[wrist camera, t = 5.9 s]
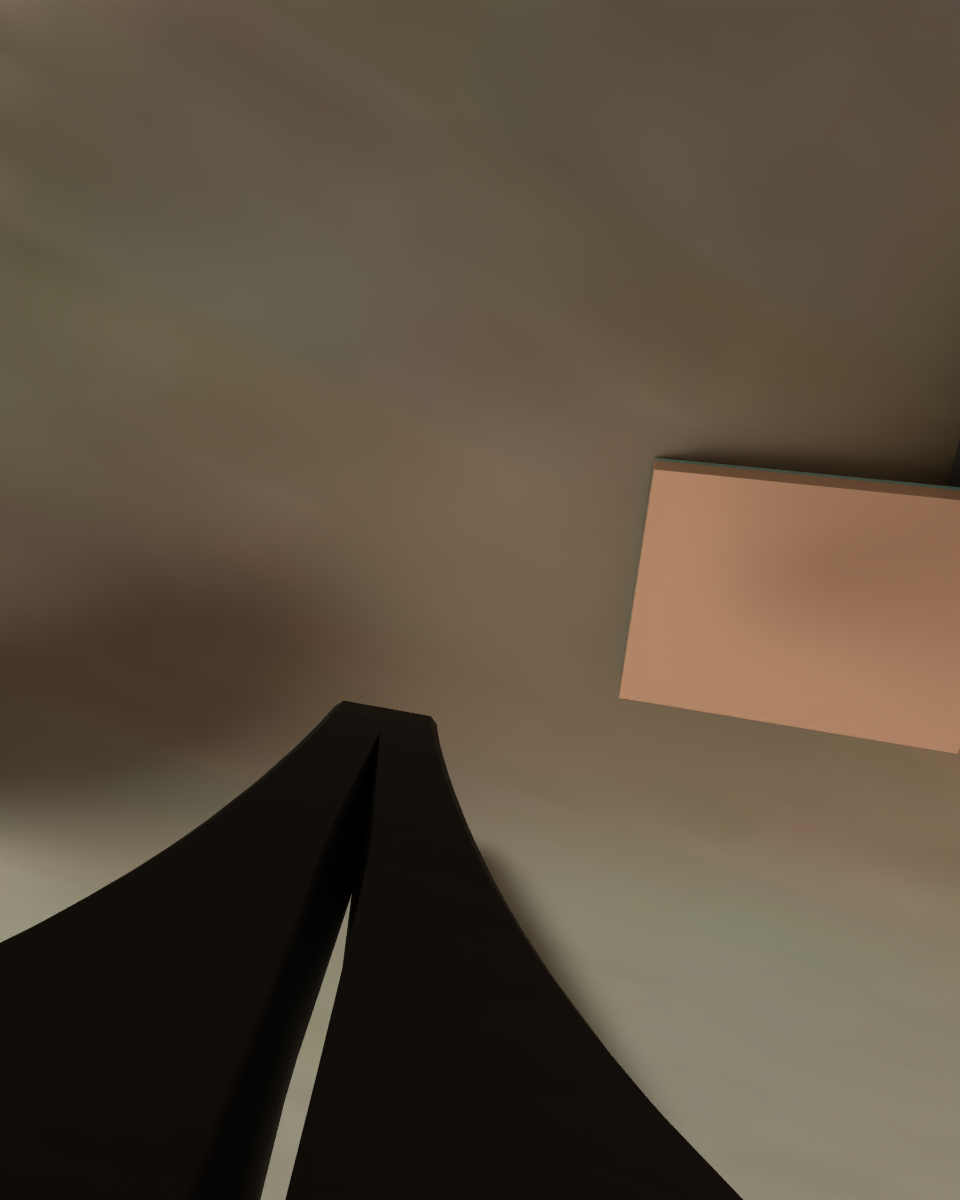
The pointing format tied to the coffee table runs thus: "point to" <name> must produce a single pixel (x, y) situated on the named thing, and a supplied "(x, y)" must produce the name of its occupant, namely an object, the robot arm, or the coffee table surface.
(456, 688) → the coffee table surface
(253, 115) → the coffee table surface
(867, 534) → the tile
